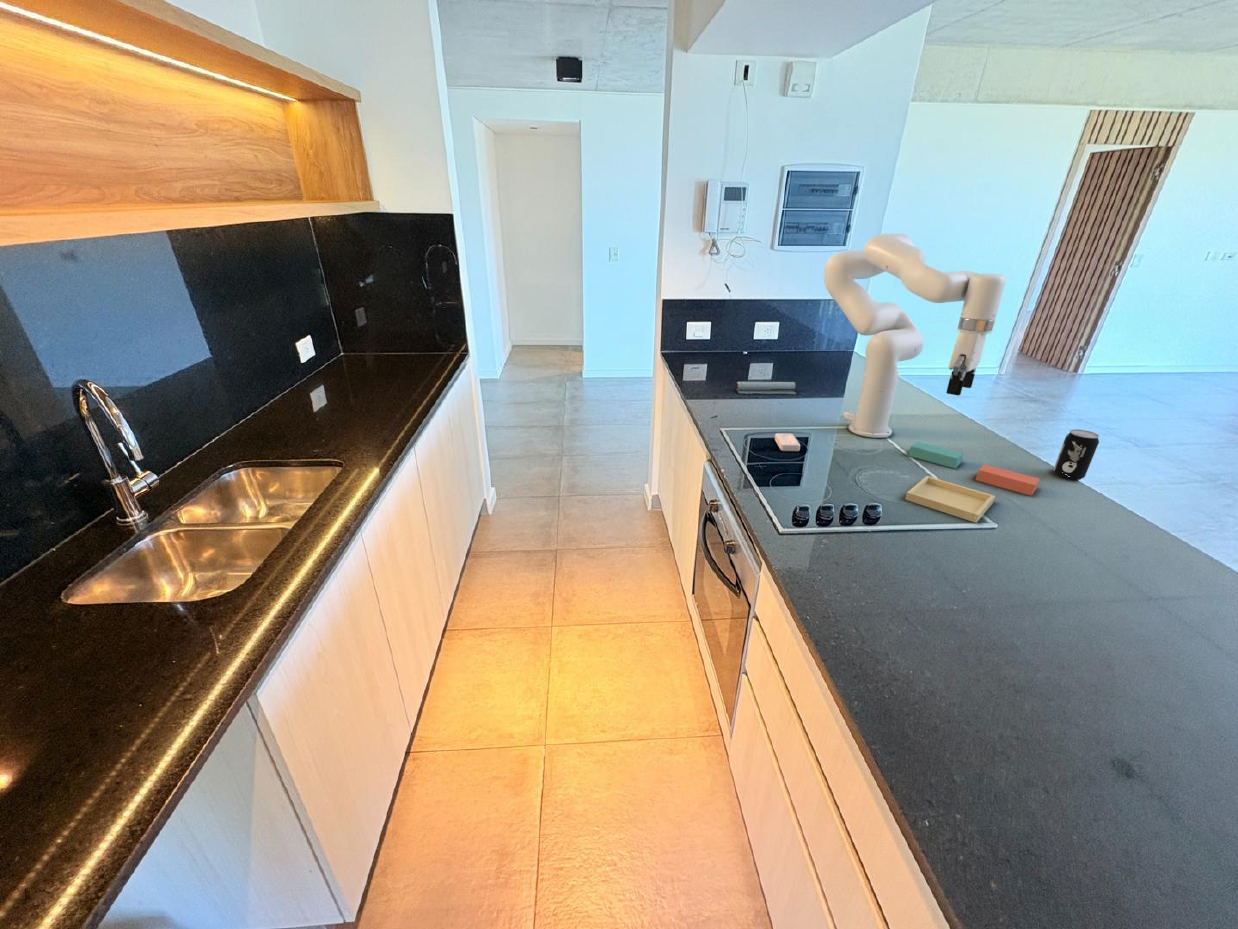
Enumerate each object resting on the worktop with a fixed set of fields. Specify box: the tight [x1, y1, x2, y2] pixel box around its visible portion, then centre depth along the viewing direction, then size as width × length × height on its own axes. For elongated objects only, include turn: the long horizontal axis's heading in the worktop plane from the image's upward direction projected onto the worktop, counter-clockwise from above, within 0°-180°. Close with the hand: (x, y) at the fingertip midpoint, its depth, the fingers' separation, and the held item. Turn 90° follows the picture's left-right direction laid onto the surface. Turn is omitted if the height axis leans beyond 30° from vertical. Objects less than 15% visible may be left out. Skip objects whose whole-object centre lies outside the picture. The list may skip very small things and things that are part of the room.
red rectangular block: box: [975, 464, 1040, 497], centre depth 134 cm, size 12×5×3 cm, turn 43°
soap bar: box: [774, 432, 801, 452], centre depth 157 cm, size 5×9×2 cm, turn 177°
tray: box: [904, 475, 996, 524], centre depth 126 cm, size 15×13×2 cm
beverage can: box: [1052, 428, 1100, 481], centre depth 136 cm, size 7×7×12 cm
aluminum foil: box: [735, 381, 797, 395], centre depth 207 cm, size 23×7×3 cm, turn 88°
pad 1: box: [908, 441, 964, 469], centre depth 148 cm, size 12×5×3 cm, turn 44°
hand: (958, 390), depth 141 cm, fingers open, 9 cm apart
